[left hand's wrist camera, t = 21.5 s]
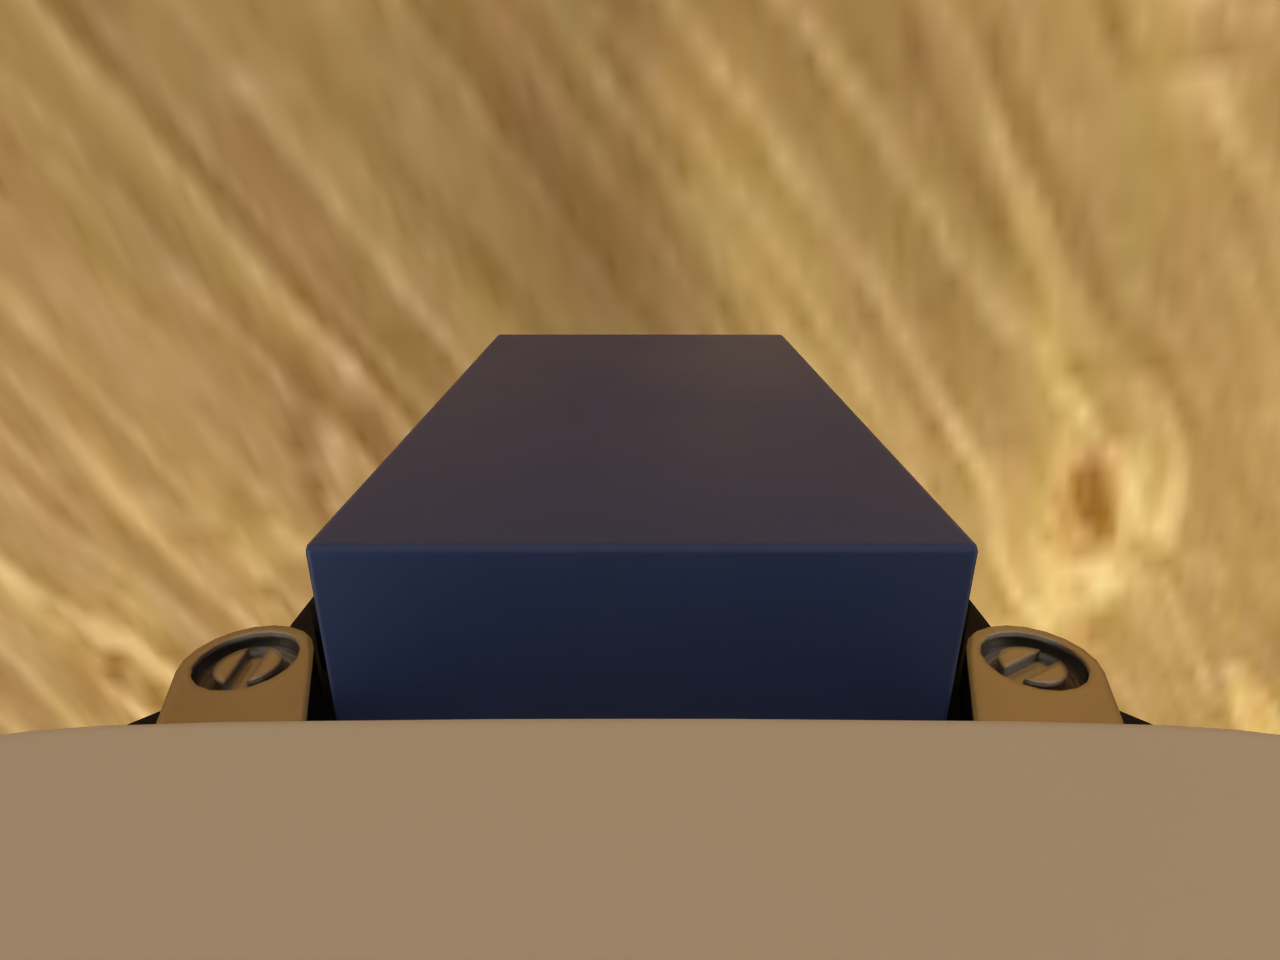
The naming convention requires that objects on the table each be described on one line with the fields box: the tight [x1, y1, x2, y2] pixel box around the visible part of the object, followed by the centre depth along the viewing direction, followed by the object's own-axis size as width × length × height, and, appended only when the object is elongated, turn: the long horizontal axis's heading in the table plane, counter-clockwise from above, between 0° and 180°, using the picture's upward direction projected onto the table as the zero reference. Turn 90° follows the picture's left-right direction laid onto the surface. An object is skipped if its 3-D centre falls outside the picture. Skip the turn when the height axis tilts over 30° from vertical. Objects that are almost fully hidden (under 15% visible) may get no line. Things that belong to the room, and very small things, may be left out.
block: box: [306, 335, 978, 721], centre depth 11 cm, size 6×5×9 cm
